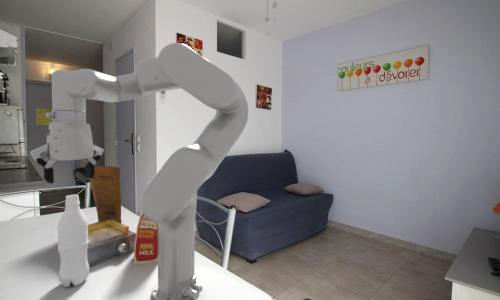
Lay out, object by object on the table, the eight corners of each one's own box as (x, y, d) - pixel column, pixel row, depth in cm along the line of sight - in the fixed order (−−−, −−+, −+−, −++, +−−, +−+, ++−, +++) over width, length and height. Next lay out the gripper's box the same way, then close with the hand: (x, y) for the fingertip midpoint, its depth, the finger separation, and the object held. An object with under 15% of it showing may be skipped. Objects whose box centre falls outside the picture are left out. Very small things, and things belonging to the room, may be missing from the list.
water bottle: (78, 290, 71) (76, 199, 70) (52, 289, 72) (49, 198, 70) (94, 275, 79) (92, 193, 77) (71, 274, 79) (68, 192, 77)
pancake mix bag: (114, 236, 107) (113, 168, 105) (86, 227, 116) (84, 164, 114) (129, 230, 113) (128, 166, 111) (101, 222, 122) (99, 162, 120)
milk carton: (133, 264, 85) (132, 203, 84) (137, 251, 94) (137, 196, 93) (163, 261, 88) (163, 202, 86) (164, 249, 97) (164, 195, 95)
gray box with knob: (140, 251, 94) (140, 228, 94) (84, 273, 79) (84, 246, 79) (115, 238, 105) (114, 217, 104) (61, 255, 90) (60, 231, 89)
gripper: (34, 116, 62) (36, 187, 64) (108, 119, 76) (109, 178, 78) (24, 116, 67) (26, 182, 68) (96, 119, 81) (97, 174, 82)
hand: (70, 180), depth 73 cm, fingers open, 9 cm apart
